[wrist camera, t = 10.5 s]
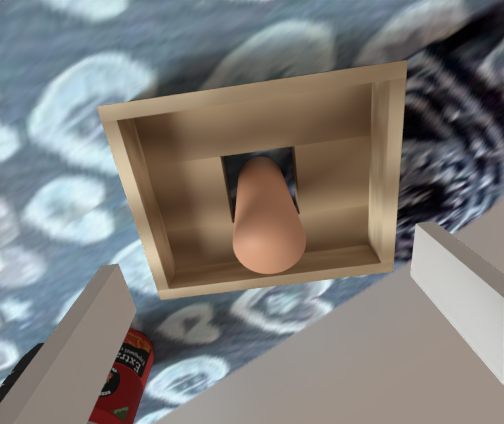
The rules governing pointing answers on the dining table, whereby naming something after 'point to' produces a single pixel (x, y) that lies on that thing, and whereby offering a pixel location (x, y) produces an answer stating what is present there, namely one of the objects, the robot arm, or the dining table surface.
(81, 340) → the robot arm
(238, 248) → the peg
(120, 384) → the canned food
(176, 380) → the dining table surface
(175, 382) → the dining table surface
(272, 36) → the dining table surface
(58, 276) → the dining table surface
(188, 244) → the box
